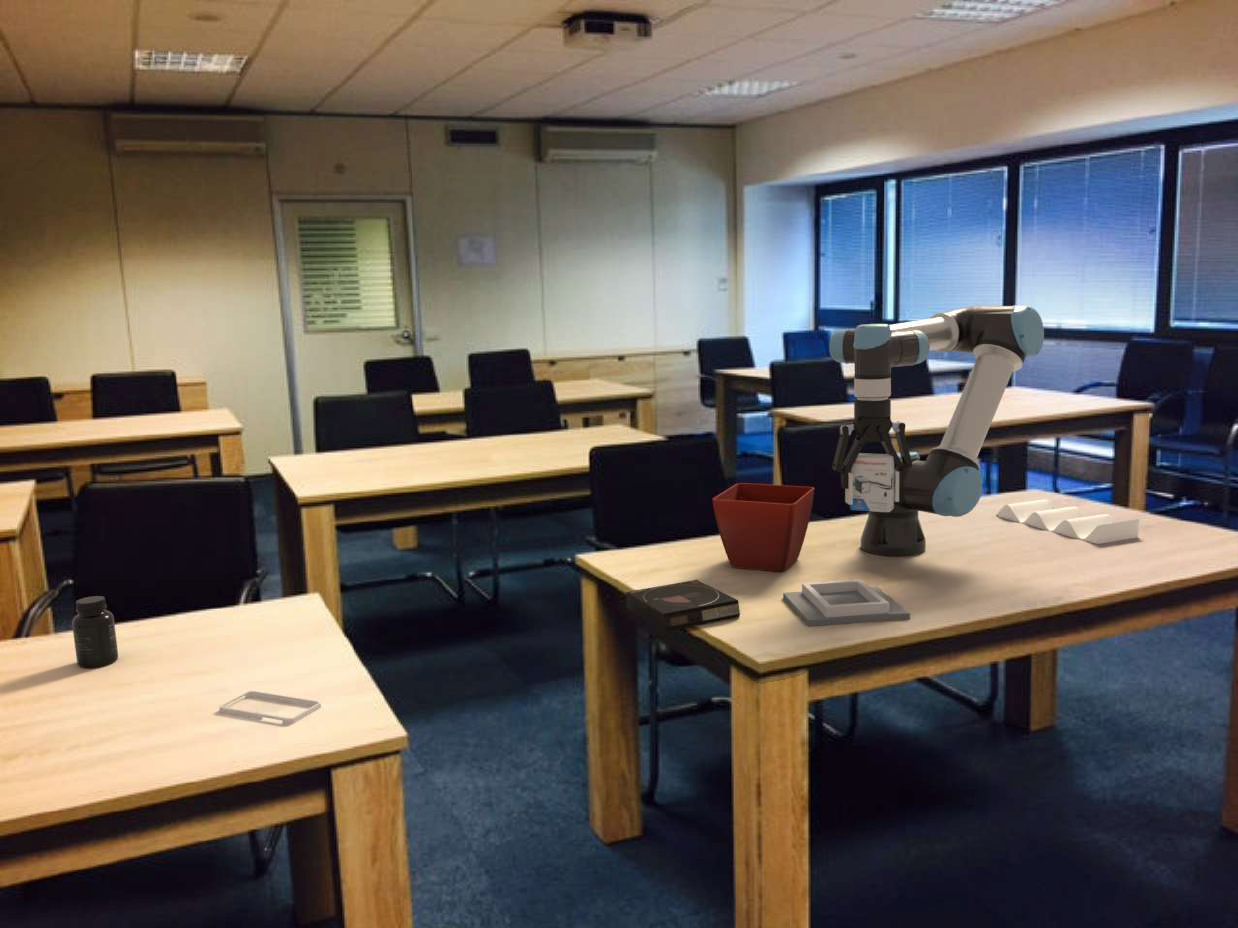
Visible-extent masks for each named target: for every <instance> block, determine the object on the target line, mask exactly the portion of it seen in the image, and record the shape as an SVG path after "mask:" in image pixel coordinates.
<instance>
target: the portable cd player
mask: <svg viewBox="0 0 1238 928" xmlns="http://www.w3.org/2000/svg"><path fill="white" fill-rule="evenodd" d="M625 593H626V595H625V596H626V597H625V598H626V599H625V600H626V609H627V610H628V611H630V612H632V613H633V614H635V615H637V616H638V617H640V618H642V619H643V620H644V621H646V622H648V623H649V624H651V625H653V626H654V627H655V628H658V629H659V630H661V631H663V632H665V633H666V632H672V631H677V630H681V629H687V628H692V627H698V626H703V625H708V624H713V623H718V622H723V621H729V620H734V619H739V618H740V615H741V612H740V611H741V610H740V606H739V604H740V603H739V599H737V598H735V597H733V596H731V595H729V594H727V593H725V592H723V591H720V589H719V590H718V589H717V588H715V587H713V586H710V585H709V584H706V583H705V582H702V581H700V580H698V579H693V580H688V581H683V582H675V583H670V584H664V585H658V586H653V587H647V588H641V589H636V590H635V589H634V590H632V591H631V590H628V591H626V592H625Z"/></svg>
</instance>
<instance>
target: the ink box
mask: <svg viewBox="0 0 1238 928" xmlns="http://www.w3.org/2000/svg"><path fill="white" fill-rule="evenodd" d="M850 473H851V474H853V505H849V506H850V509H849V510H851V511H861V512H864V511H865V512H868V511H873V512H890V511H892V510H893V508H894V460H893V457H892V456H891V455H889V454H887V453H870V452H869V453H864V452H863V453H862V452H860V453H859V455H858V456H857V458H856V460H855V462H854V464H853V466H852V468H851V470H850Z"/></svg>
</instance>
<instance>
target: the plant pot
mask: <svg viewBox="0 0 1238 928" xmlns="http://www.w3.org/2000/svg"><path fill="white" fill-rule="evenodd" d="M814 494H815V487H813V486H803V485H802V486H799V485H782V484H767V483H766V484H765V483H750V482H749V483H746V482H744V483H743V482H740V483H735V484H734V485H732V486H731V487H729V488H726V490H724V491H722V492H721V493H719V494H718V495H716V496H714V497H713V498H712V499H711V500H712V506H713V511H714V517H715V520H716V524H717V526H716V527H717V529H718V533H719V535H720V539H721V542H722V545H723V548H724V552H725V554H726V556H727V559H728V561H729V564H730V566H731V568H735V569H747V570H759V571H768V572H780V573H782V572H785V571H786V570H788V569H789V568H790V567H791V566H792V565H793V564H794V563H795V562H796V561H797V559H798V558H799V556H800V554H801V552H802V549H803V548H802V547H803V545H804V542H805V538H806V534H807V530H808V526H809V522H810V517H811V514H812V509H813V503H814V502H813V501H814V496H815V495H814Z"/></svg>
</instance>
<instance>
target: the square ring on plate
mask: <svg viewBox="0 0 1238 928" xmlns="http://www.w3.org/2000/svg"><path fill="white" fill-rule="evenodd" d="M782 598H783V600H784V601H785V602H786V603H787V604H788V605H789V607H790V608H791V609H792V610H793V612H794V613H796V614H797V615H798V617H799V618H800V619H801V620H802V621H803V622H804V623H805V625H806V626H808V627H817V626H830V625H845V624H857V623H858V624H860V623H872V622H874V623H875V622H885V621H901V620H902V621H903V620H910V619H911V613H910V612H909V611H908V610H907V609H906V608H905V607H903V606H902V605H900V603H898V602H897V601H895V600H894V598H892V597H891V596H889V595H888V594H887V593H886V592H884V591H883V590H882V589H880V587H878V586H877V585H876V586H869V585H868V584H867V583H866V582H864V581H863V580H862V579H847V580H831V581H817V582H814V581H813V582H803V583H801V591H793V592H792V591H790V592H789V591H788V592H787V591H786V592H783V593H782Z"/></svg>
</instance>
